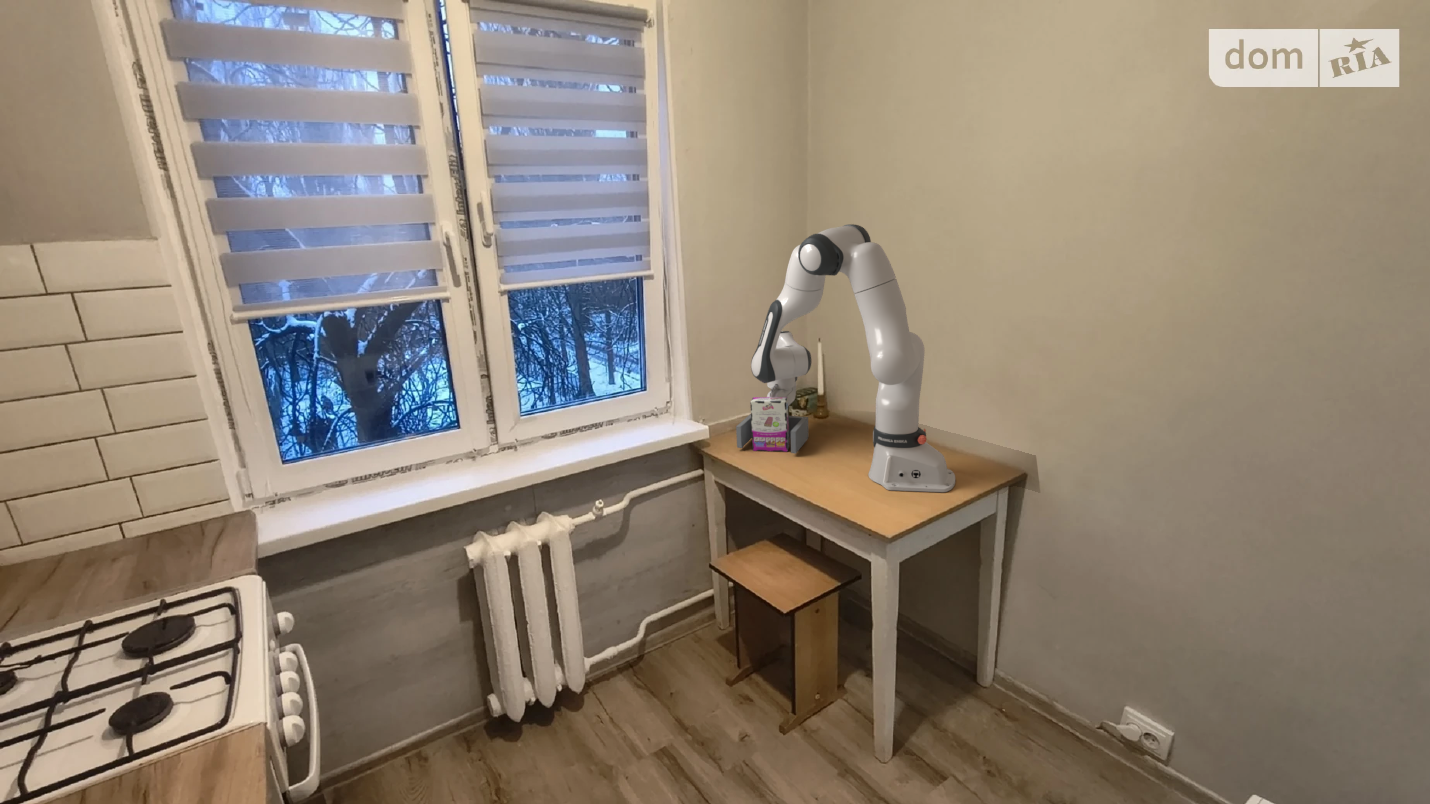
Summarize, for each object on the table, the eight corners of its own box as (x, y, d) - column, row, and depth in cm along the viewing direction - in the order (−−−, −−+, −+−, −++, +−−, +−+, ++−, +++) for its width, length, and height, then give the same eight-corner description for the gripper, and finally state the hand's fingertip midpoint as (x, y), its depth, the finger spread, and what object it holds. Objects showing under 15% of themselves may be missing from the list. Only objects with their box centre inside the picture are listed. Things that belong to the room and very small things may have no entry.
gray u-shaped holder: (808, 439, 203) (808, 417, 201) (796, 455, 191) (795, 431, 189) (752, 434, 211) (751, 412, 209) (737, 449, 199) (735, 426, 196)
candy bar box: (789, 446, 200) (788, 396, 196) (788, 452, 196) (786, 401, 191) (754, 445, 203) (752, 396, 198) (752, 451, 198) (750, 401, 193)
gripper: (780, 390, 194) (781, 432, 198) (799, 373, 211) (799, 412, 215) (760, 388, 196) (762, 431, 200) (781, 372, 214) (782, 411, 218)
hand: (781, 421), depth 208 cm, fingers closed
